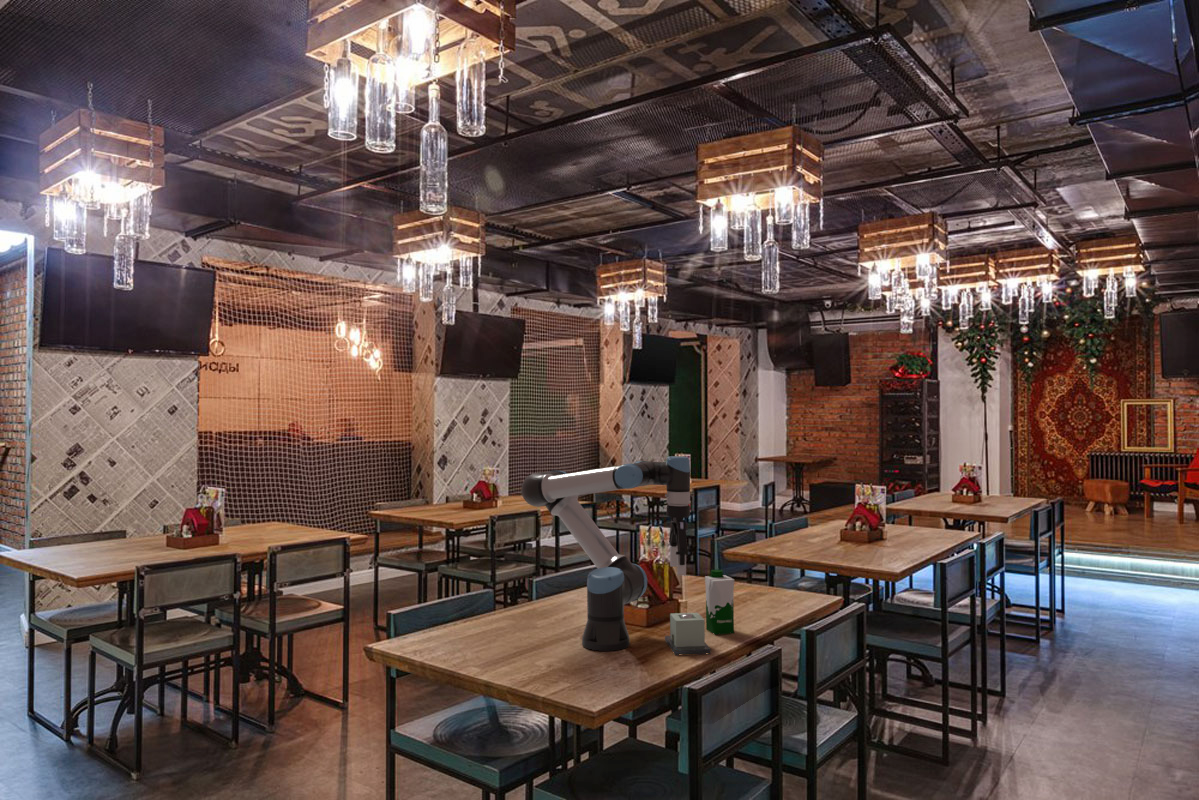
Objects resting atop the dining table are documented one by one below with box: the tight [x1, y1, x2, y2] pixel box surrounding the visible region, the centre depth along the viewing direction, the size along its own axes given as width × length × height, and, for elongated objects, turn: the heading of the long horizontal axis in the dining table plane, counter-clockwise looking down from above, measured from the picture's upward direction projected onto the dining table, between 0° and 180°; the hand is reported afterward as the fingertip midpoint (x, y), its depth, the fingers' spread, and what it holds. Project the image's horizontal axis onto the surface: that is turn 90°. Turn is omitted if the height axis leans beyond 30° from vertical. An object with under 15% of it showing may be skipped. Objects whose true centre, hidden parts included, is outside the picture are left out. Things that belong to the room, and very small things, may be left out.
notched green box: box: [669, 612, 706, 647], centre depth 246 cm, size 9×9×8 cm
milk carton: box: [704, 569, 735, 636], centre depth 263 cm, size 9×9×20 cm
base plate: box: [664, 614, 712, 656], centre depth 246 cm, size 11×16×10 cm
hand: (677, 570), depth 251 cm, fingers open, 13 cm apart
